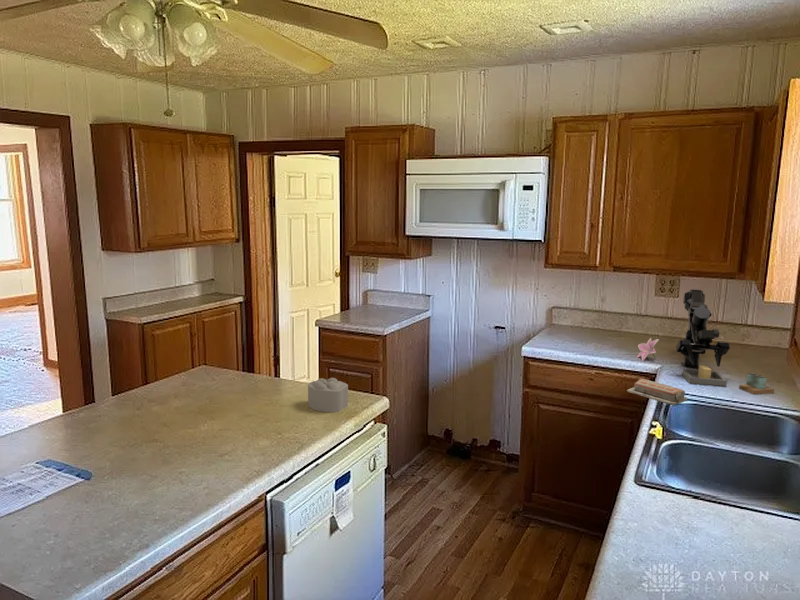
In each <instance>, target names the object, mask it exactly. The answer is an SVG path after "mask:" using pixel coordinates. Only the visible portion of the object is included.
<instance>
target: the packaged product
mask: <svg viewBox="0 0 800 600" xmlns="http://www.w3.org/2000/svg"><path fill="white" fill-rule="evenodd" d="M626 391H627V393H630V394H634V395H637V396H641V397H644V398H647V399H651V400H654V401H657V402H661V403H665V404H668V405H671V406H675V405H678V404H681V403H683V402H686V401H688V399H687V396H685V394H686V392H685V390H684V389H683V388H678V387H674V386H672V385H667V384H664V383H660V382H656V381H653V380H649V379H645V378H639V379H638V380H637V381H635V382H634V384H633V387H631V388H629V389H626Z"/></svg>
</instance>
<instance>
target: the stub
mask: <svg viewBox="0 0 800 600" xmlns="http://www.w3.org/2000/svg"><path fill="white" fill-rule="evenodd" d="M698 370H699V371H698V378H708V379H710V378H711V371H712V369H711V368H710V367H709V366H708V365H704V364H703V365H702V364H699V368H698Z"/></svg>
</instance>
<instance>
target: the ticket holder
mask: <svg viewBox="0 0 800 600" xmlns="http://www.w3.org/2000/svg"><path fill="white" fill-rule="evenodd" d="M766 384H767V376H764V375H761V374H758V373H756V372H748V373H747V377H746V383H745V384H744V383H743V384H739V387H738V389H739V390H742V391H745V392H747V393H750V394H752V395H764V394H774V393H775V388H772V387H769V386H767V385H766Z"/></svg>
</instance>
